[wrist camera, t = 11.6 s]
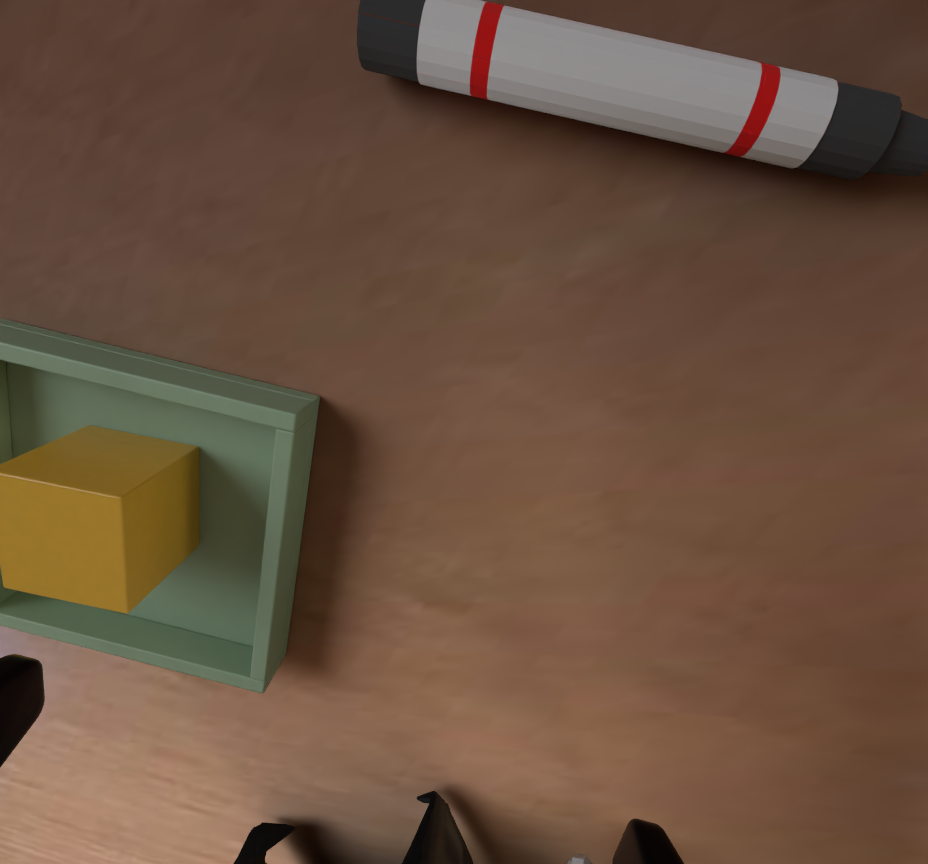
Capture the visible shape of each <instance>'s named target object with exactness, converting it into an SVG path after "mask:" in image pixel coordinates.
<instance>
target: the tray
mask: <svg viewBox="0 0 928 864" xmlns="http://www.w3.org/2000/svg"><path fill="white" fill-rule="evenodd" d="M319 401H320V396H318V395H314V394H309V393H305V392H301V391H297V390H293V389H289V388H285V387H281V386H277V385H273V384H268V383H264V382H260V381H256V380H252V379H248V378H244V377H240V376H236V375H232V374H227V373H223V372H219V371H215V370H211V369H207V368H203V367H199V366H195V365H191V364H186V363H182V362H178V361H174V360H170V359H166V358H162V357H158V356H154V355H150V354H145V353H141V352H137V351H133V350H129V349H125V348H121V347H117V346H113V345H109V344H104V343H100V342H96V341H92V340H88V339H84V338H80V337H76V336H72V335H68V334H63V333H59V332H55V331H51V330H47V329H43V328H39V327H35V326H31V325H27V324H22V323H18V322H14V321H10V320H6V319H0V464H2V463H5V462H7V461H9V460H11V459H14V458H16V457H18V456H20V455H23V454H25V453H27V452H29V451H32V450H34V449H36V448H38V447H41V446H43V445H45V444H47V443H50V442H52V441H54V440H56V439H59V438H61V437H63V436H65V435H68V434H70V433H72V432H74V431H77V430H79V429H81V428H83V427H86V426H88V425H92V426H97V427H102V428H107V429H112V430H117V431H122V432H127V433H132V434H138V435H143V436H148V437H153V438H158V439H163V440H168V441H173V442H178V443H183V444H188V445H193V446H198V447H199V546H198V547H197V548H196V549H195V550H194V551H193V552H192V553H191V554H190V555H189V556H188V557H187V558H186V559H185V560H184V561H182V562H181V563H180V564H179V565H178V566H177V567H176V568H175V569H174V570H173V571H172V572H171V573H170V574H169V575H168V576H167V577H166V578H165V579H164V580H163V581H162V582H161V583H160V584H158V585H157V586H156V587H155V588H154V589H153V590H152V591H151V592H150V593H149V594H148V595H147V596H146V597H145V598H144V599H143V600H142V601H141V602H140V603H139V604H138V605H137V606H136V607H135V608H133V609H132V610H131V611H130V612H129V613H128V614H125V613H121V612H116V611H111V610H107V609H102V608H97V607H92V606H88V605H83V604H78V603H74V602H69V601H64V600H60V599H55V598H50V597H45V596H41V595H36V594H31V593H27V592H22V591H17V590H13V589H8V588H5V587H4V586H3V580H2V573H1V566H0V626H4V627H8V628H12V629H16V630H19V631H23V632H27V633H31V634H35V635H39V636H43V637H46V638H50V639H54V640H58V641H62V642H66V643H70V644H73V645H77V646H81V647H85V648H89V649H93V650H97V651H100V652H104V653H108V654H112V655H116V656H120V657H124V658H127V659H131V660H135V661H139V662H143V663H147V664H151V665H154V666H158V667H162V668H166V669H170V670H174V671H178V672H181V673H185V674H189V675H193V676H197V677H201V678H205V679H208V680H212V681H216V682H220V683H224V684H228V685H232V686H236V687H239V688H243V689H247V690H251V691H255V692H259V693H264V692H265V690H266V688H267V687H268V685H269V683H270V681H271V680H272V678H273V676H274V674H275V673H276V671H277V669H278V667H279V666H280V664H281V662H282V661H283V659H284V657H285V655H286V650H287V643H288V635H289V628H290V620H291V613H292V605H293V597H294V590H295V582H296V575H297V567H298V560H299V552H300V545H301V537H302V529H303V522H304V514H305V507H306V499H307V492H308V484H309V477H310V469H311V461H312V454H313V446H314V439H315V431H316V424H317V416H318V409H319Z"/></svg>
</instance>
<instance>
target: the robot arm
mask: <svg viewBox="0 0 928 864" xmlns="http://www.w3.org/2000/svg"><path fill="white" fill-rule="evenodd" d="M44 700H45V696H44V683H43V669H42V664H41V663H40V662H39V661H38V660H36V659H33V658H29V657H25V656H22V655H16V654H12V655H7V656H4V657H2V658H0V767H1V766H2V765H3V763H4V762H5V761H6V759H7V758H8V757H9V755H10V754H11V753H12V751H13V750H14V749H15V747H16V746H17V745H18V743H19V742H20V741H21V739H22V738H23V737H24V735H25V734H26V733H27V731H28V730H29V729H30V727H31V726H32V725H33V723H34V722H35V721H36V719H37V718H38V716H39V714H40V713H41V711H42V708H43V705H44ZM612 864H684V863H683V861H682V860H681V858H680V856H679V855H678V853H677V851H676V850H675V848H674V846H673V845H672V843H671V841H670V840H669V838H668V836H667V835H666V833H665V831H664V830H663V829H662V828H661V827H660V826H659V825H657V824H655V823H651V822H647V821H643V820H640V819H632V820H631V821H630V822H629V823H628V825H627V827H626V829H625V832H624V834H623V836H622V838H621V841H620V843H619V845H618V847H617V849H616V852H615V854H614V858H613V863H612Z"/></svg>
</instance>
